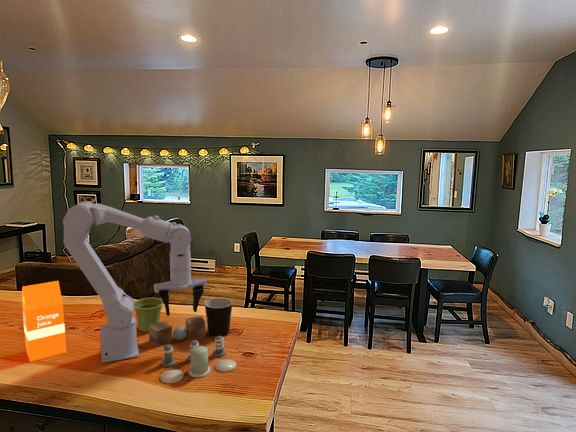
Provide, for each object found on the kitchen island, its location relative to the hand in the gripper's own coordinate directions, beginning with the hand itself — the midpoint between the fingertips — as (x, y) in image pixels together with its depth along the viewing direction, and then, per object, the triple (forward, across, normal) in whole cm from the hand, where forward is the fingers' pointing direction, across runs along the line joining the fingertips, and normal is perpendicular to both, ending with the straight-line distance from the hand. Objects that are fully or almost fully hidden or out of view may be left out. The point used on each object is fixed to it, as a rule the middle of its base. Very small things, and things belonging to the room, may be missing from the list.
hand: (181, 312), depth 114 cm
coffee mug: (+11, +13, +6) cm, 18 cm away
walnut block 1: (+10, -6, +6) cm, 13 cm away
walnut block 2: (+10, +5, +6) cm, 13 cm away
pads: (+10, +2, -16) cm, 19 cm away
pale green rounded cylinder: (+10, +2, -15) cm, 18 cm away
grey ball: (+10, 0, +4) cm, 11 cm away
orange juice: (+11, -36, +11) cm, 39 cm away
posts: (+10, +2, -8) cm, 14 cm away
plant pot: (+11, -8, +16) cm, 21 cm away
